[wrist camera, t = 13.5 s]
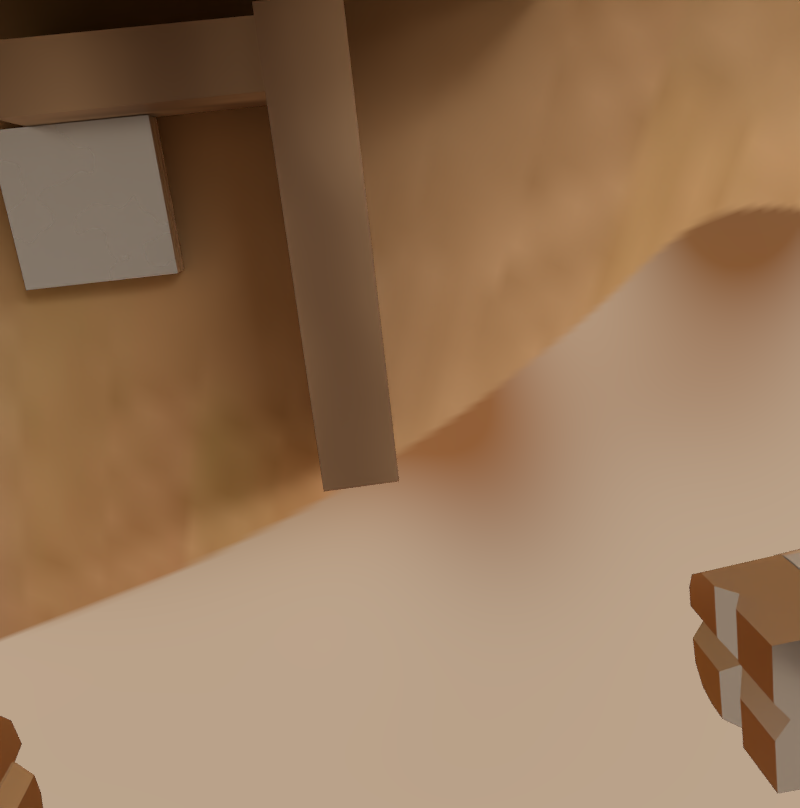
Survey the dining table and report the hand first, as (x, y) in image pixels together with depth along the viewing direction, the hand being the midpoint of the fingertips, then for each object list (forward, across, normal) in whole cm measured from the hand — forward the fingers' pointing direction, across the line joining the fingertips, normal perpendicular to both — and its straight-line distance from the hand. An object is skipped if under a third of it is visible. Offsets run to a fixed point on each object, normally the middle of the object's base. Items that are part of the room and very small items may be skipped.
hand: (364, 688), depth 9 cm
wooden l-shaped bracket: (+19, +4, -4) cm, 20 cm away
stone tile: (+20, +7, -7) cm, 22 cm away
